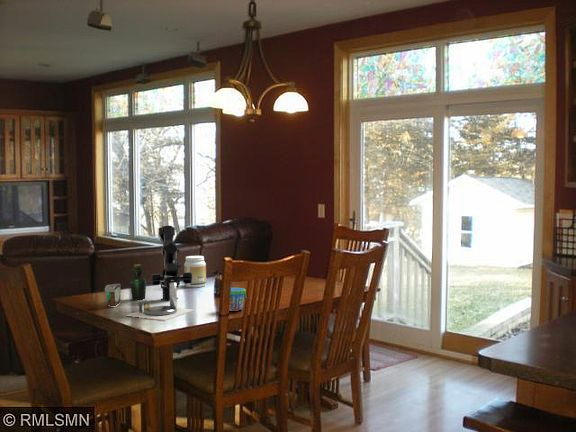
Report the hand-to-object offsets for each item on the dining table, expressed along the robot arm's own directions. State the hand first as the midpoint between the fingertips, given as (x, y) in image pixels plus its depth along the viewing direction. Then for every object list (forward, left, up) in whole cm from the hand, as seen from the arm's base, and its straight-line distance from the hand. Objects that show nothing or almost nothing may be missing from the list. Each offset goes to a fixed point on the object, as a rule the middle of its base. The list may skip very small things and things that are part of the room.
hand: (173, 293), depth 301 cm
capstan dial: (-4, -5, -9) cm, 11 cm away
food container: (-37, 0, -9) cm, 38 cm away
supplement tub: (-30, +62, -9) cm, 70 cm away
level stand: (-4, -5, -9) cm, 11 cm away
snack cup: (+25, +14, -9) cm, 30 cm away
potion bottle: (-35, +18, -9) cm, 41 cm away
